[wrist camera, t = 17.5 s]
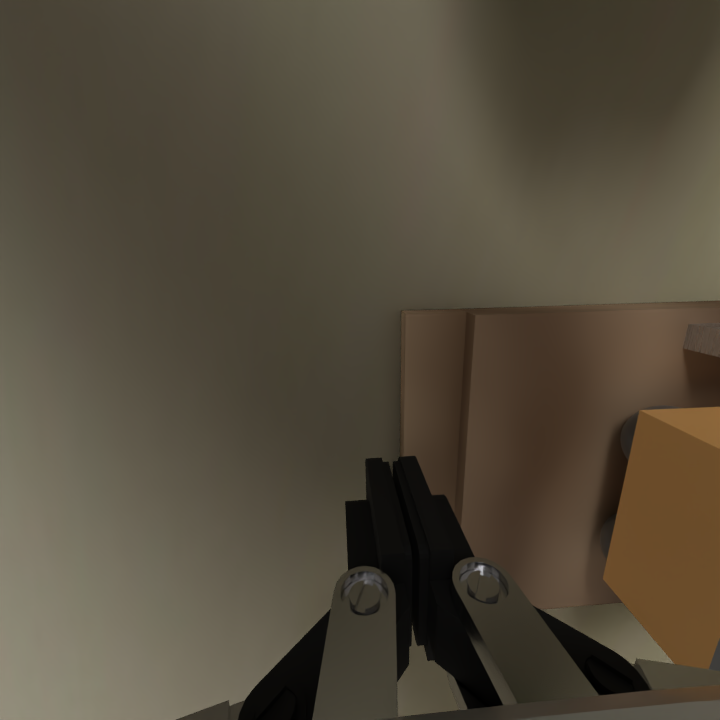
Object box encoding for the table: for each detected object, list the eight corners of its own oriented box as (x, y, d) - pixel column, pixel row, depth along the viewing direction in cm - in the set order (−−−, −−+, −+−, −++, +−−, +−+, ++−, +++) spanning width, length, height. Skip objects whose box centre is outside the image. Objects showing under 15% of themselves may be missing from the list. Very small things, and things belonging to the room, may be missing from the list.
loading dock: (398, 586, 15) (423, 715, 11) (401, 310, 12) (438, 338, 8) (782, 557, 16) (944, 663, 12) (879, 295, 13) (1151, 312, 9)
